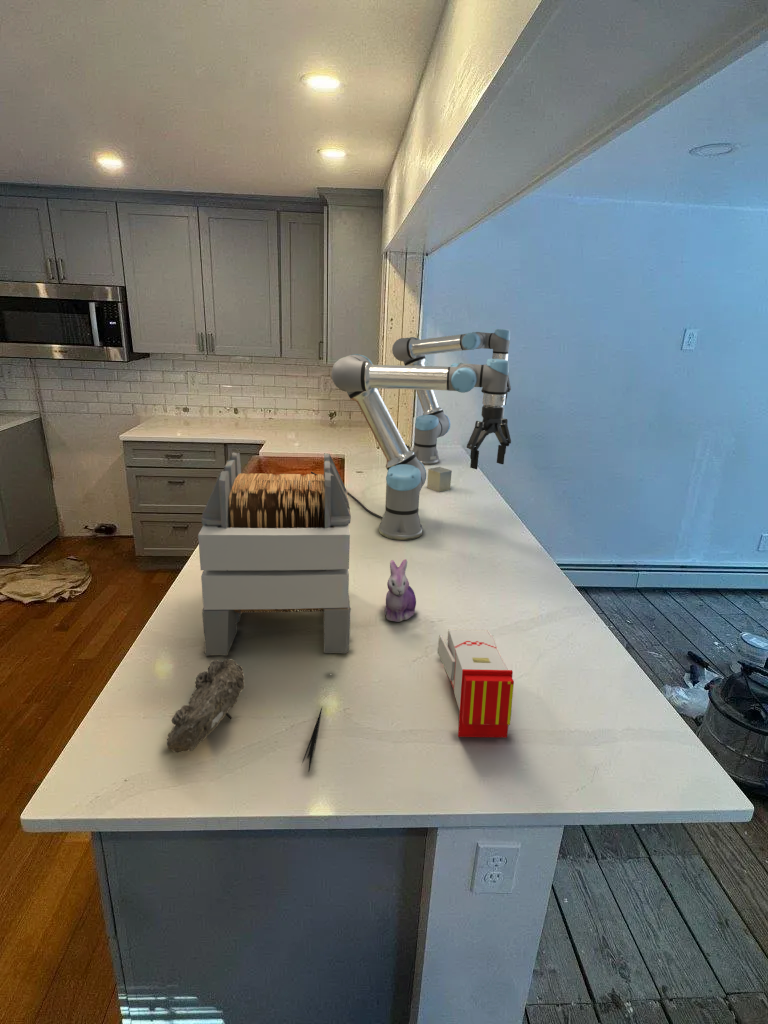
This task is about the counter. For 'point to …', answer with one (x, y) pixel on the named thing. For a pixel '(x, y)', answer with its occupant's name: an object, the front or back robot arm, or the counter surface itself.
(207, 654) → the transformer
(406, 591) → the figurine
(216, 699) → the fossil
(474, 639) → the toy
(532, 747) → the counter surface
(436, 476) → the grey beige block
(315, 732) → the feather
